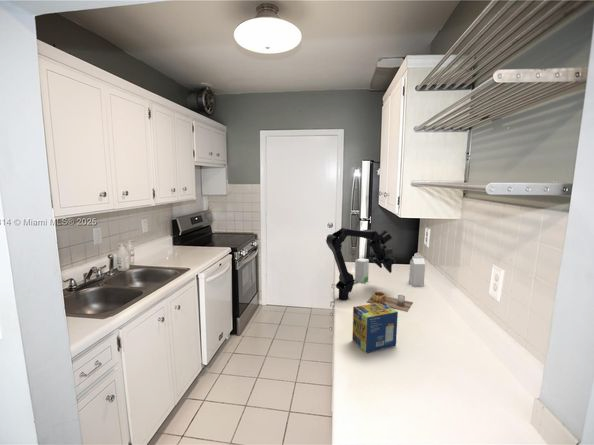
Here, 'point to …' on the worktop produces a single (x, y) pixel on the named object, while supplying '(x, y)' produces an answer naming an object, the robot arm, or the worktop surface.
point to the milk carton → (417, 271)
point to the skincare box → (361, 270)
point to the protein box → (374, 326)
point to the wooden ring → (378, 297)
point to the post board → (396, 303)
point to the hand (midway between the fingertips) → (385, 270)
